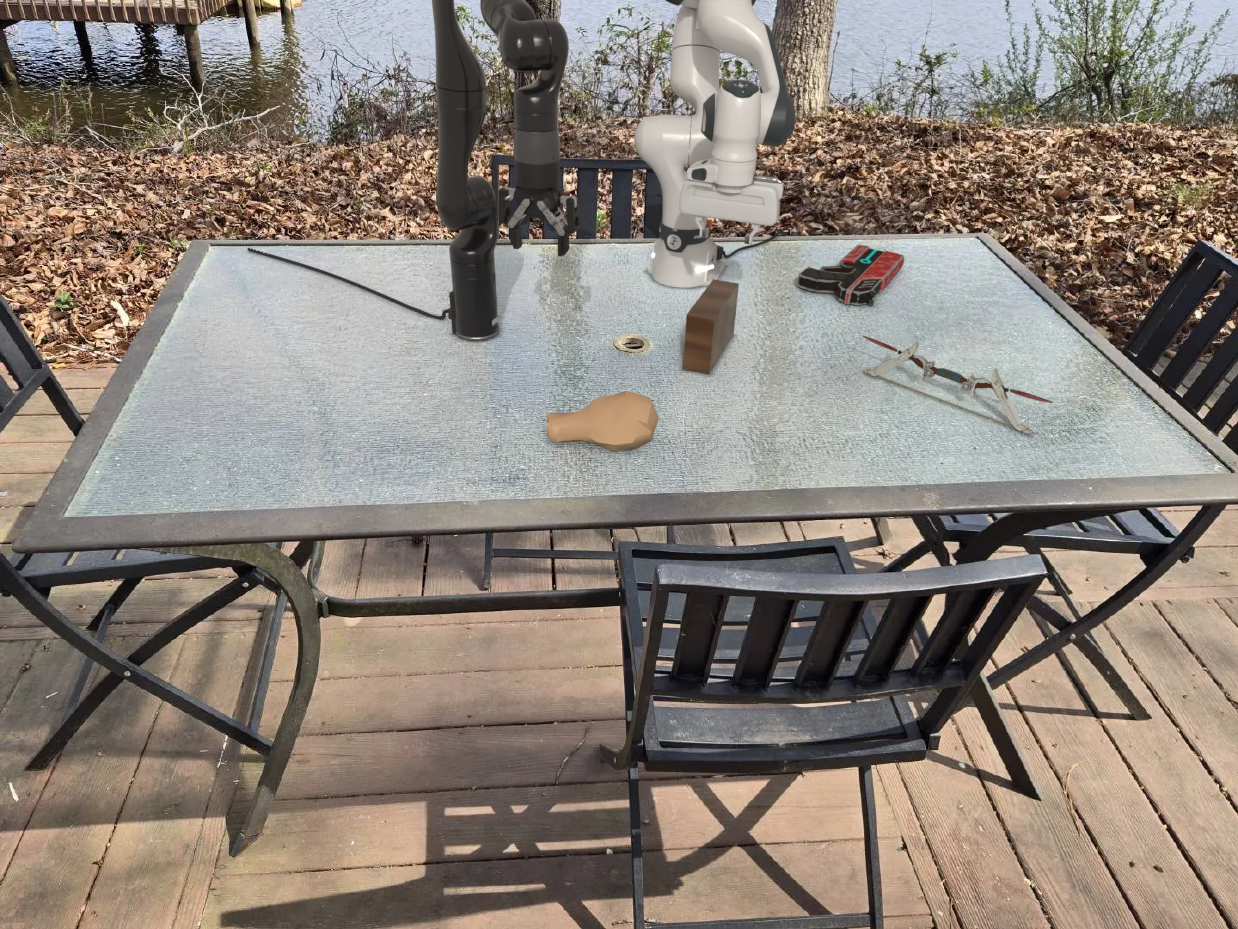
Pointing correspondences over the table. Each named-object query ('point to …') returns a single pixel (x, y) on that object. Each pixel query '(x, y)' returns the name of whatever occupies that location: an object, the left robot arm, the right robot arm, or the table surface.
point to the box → (710, 326)
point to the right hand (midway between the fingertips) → (726, 240)
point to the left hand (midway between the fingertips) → (539, 251)
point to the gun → (854, 275)
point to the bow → (967, 384)
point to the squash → (608, 422)
